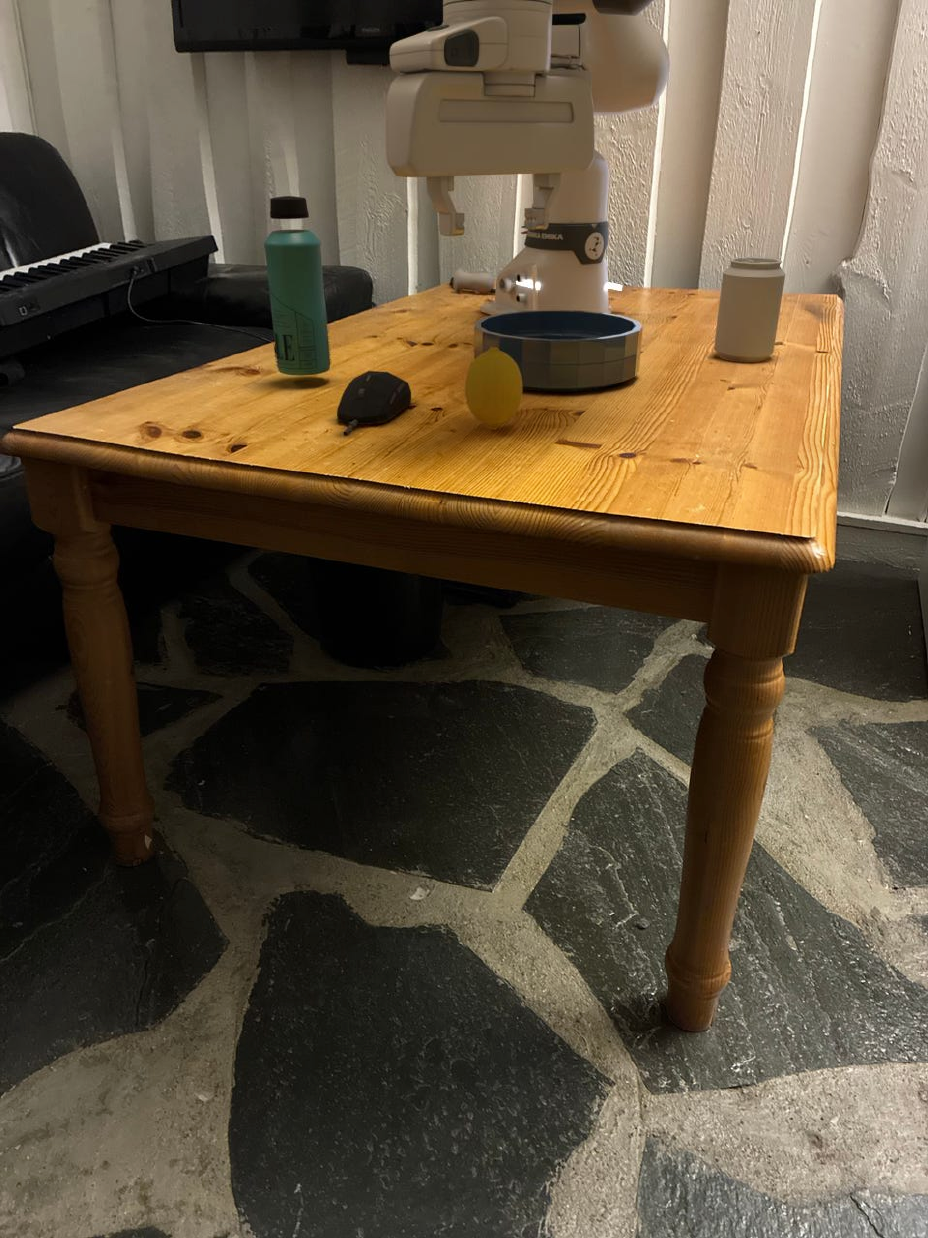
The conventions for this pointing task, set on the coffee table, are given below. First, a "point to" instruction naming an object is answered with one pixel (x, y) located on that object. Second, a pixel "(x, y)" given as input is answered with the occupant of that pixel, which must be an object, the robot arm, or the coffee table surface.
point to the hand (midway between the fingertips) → (495, 232)
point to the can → (749, 309)
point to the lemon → (493, 388)
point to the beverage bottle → (296, 293)
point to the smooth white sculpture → (473, 281)
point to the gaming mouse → (373, 399)
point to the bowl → (564, 347)
